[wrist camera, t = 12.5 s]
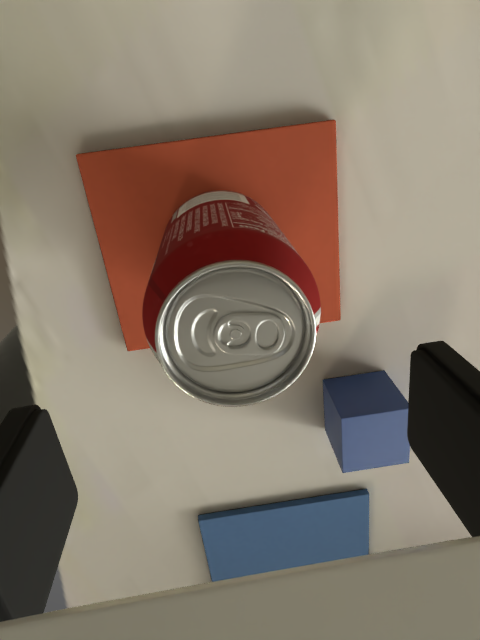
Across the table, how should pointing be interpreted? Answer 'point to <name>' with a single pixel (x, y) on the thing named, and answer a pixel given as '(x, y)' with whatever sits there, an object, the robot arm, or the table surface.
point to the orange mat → (204, 176)
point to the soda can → (230, 302)
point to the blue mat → (286, 534)
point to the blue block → (366, 421)
